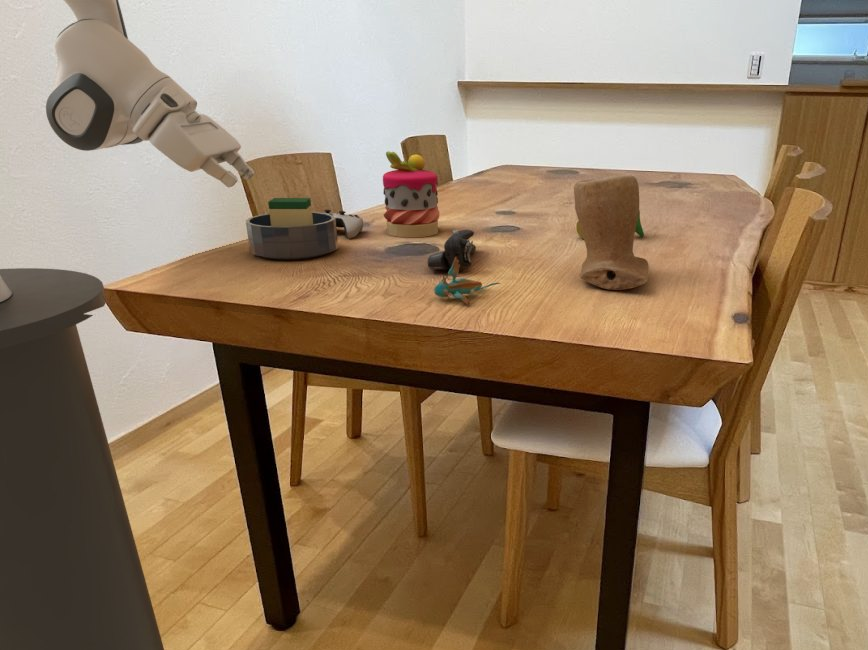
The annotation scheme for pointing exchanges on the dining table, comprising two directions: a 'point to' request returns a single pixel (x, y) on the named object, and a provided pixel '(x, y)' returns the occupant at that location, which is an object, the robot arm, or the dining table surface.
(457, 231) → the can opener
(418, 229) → the cake
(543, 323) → the dining table surface
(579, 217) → the brown clay sculpture
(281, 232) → the bowl
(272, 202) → the sponge
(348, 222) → the gaming controller
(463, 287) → the dragon figurine
